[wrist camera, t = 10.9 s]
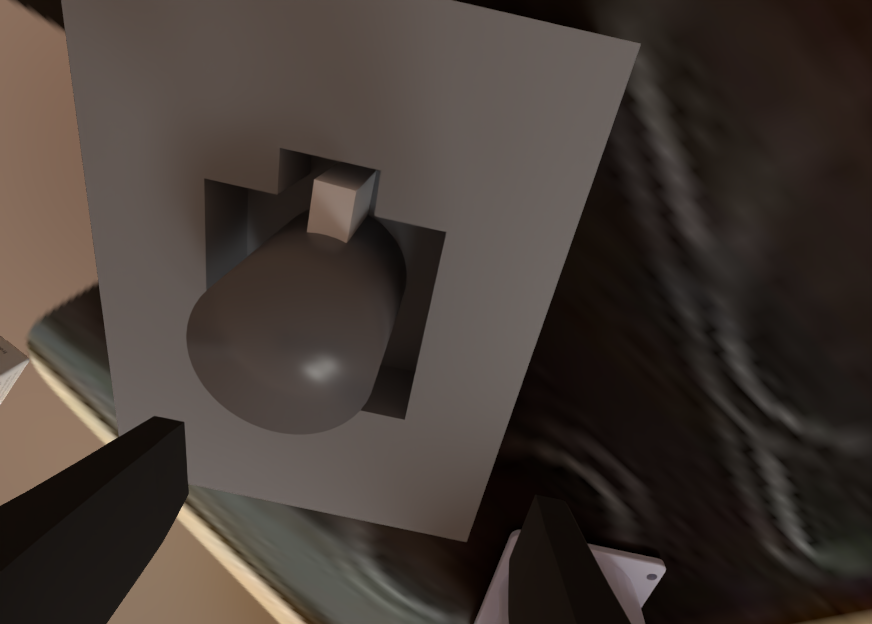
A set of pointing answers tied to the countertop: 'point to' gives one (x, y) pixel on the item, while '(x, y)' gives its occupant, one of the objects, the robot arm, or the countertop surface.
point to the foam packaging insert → (390, 205)
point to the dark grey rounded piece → (304, 314)
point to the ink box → (10, 366)
